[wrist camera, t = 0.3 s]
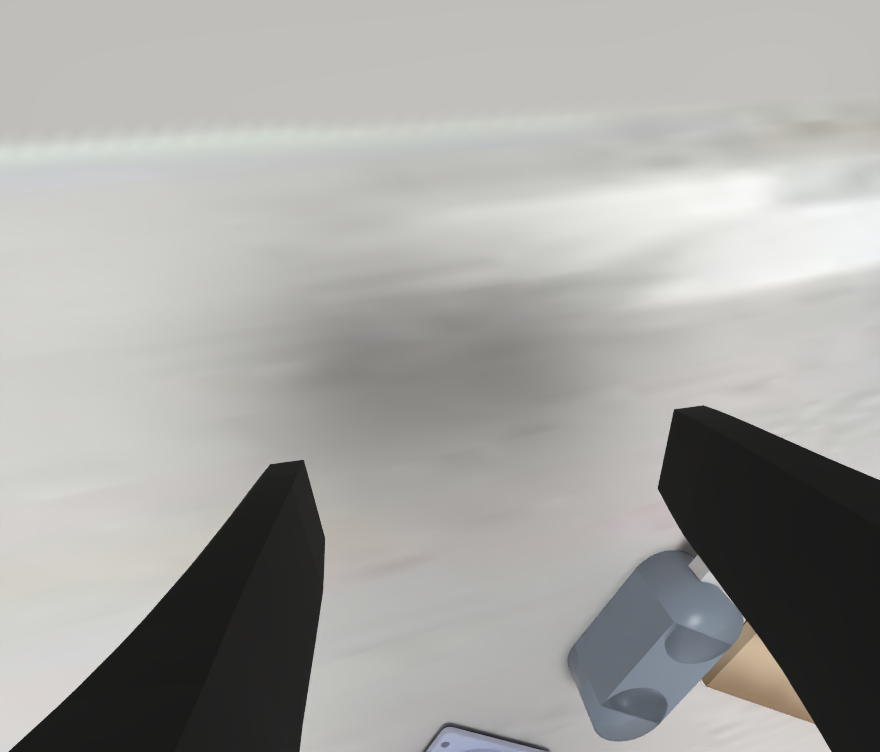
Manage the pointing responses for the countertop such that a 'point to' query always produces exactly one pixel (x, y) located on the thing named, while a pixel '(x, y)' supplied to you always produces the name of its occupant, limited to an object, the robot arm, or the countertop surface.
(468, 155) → the countertop surface
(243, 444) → the countertop surface
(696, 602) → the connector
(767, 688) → the cork pad
